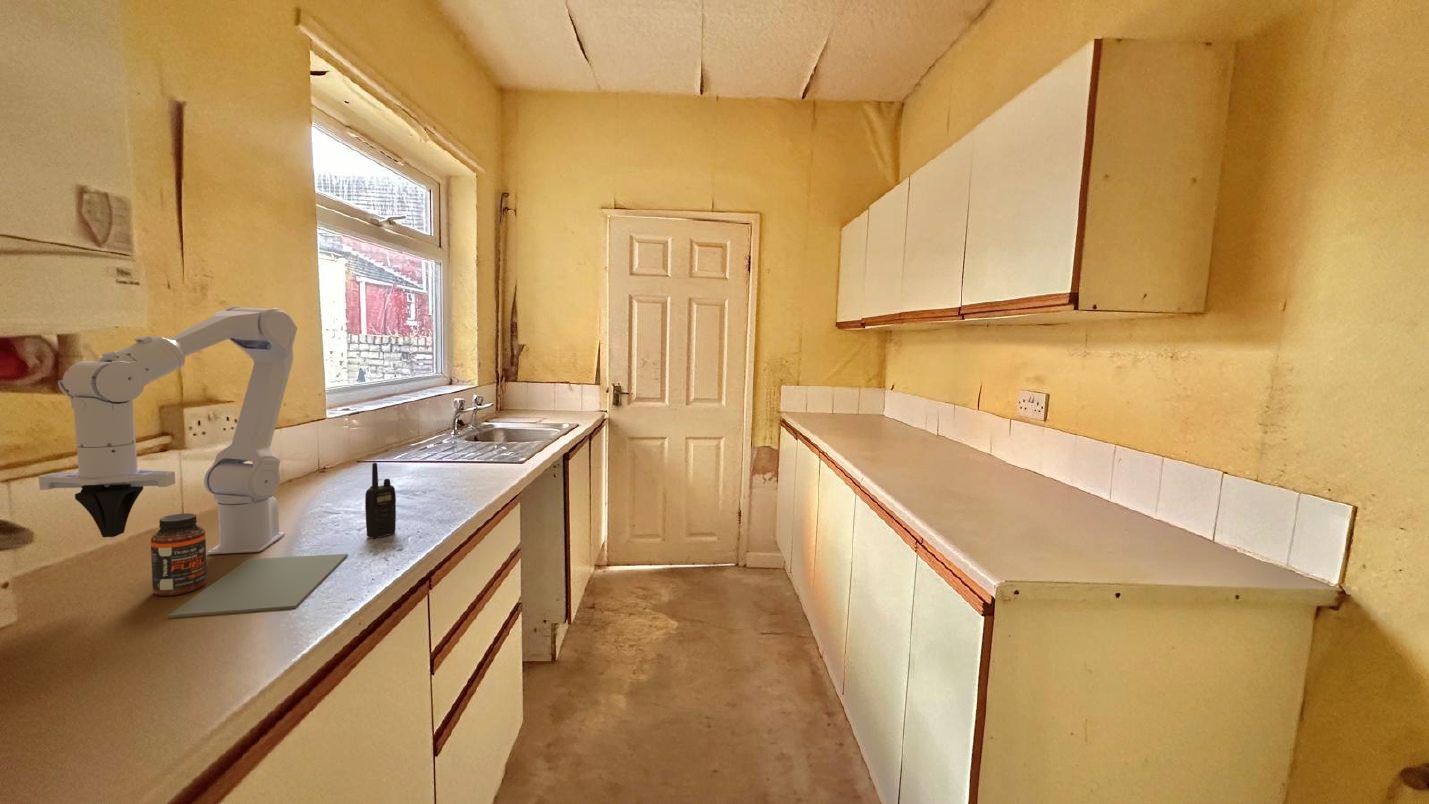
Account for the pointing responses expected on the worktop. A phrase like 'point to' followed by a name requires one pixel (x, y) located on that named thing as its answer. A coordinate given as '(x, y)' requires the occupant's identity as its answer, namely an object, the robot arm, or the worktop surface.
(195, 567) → the supplement bottle
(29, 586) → the worktop surface
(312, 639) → the worktop surface
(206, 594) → the mat
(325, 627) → the worktop surface
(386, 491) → the two-way radio
